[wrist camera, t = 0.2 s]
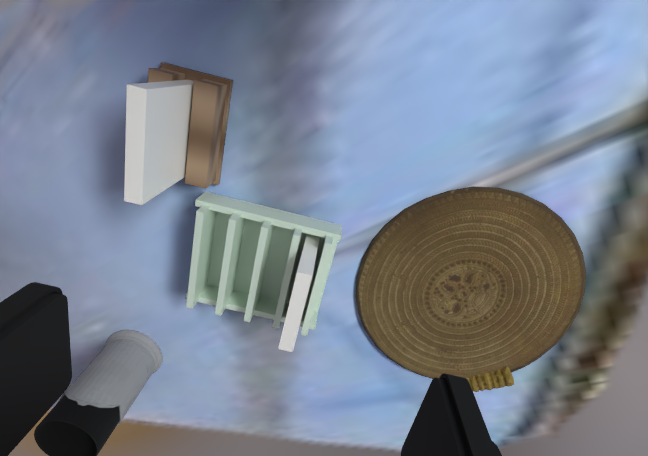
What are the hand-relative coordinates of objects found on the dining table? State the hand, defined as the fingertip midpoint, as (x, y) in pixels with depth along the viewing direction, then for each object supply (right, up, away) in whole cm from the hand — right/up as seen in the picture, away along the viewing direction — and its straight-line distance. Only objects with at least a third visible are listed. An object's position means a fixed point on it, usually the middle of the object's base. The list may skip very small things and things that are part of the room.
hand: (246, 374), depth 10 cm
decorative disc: (+21, -5, +41) cm, 46 cm away
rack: (-6, 0, +40) cm, 40 cm away
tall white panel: (-13, +15, +33) cm, 39 cm away
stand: (-13, +15, +34) cm, 39 cm away
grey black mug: (-28, -18, +49) cm, 59 cm away
